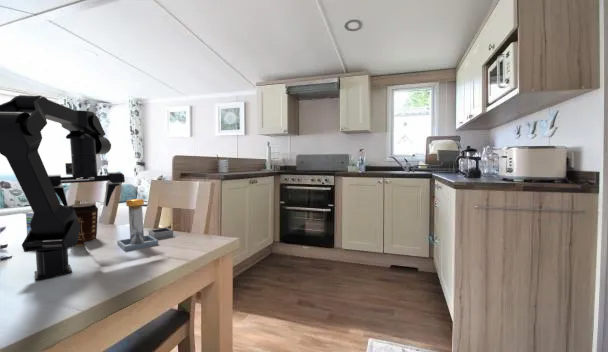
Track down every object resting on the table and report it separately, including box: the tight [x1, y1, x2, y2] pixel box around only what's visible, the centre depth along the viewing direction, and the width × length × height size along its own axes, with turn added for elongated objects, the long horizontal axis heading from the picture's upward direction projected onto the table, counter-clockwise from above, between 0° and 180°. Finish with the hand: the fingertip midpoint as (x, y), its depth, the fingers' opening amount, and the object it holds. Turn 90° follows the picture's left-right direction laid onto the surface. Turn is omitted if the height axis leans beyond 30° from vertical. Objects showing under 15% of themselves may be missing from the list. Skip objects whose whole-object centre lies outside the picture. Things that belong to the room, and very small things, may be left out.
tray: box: [116, 234, 159, 252], centre depth 87 cm, size 9×9×2 cm
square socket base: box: [148, 227, 181, 241], centre depth 98 cm, size 9×8×3 cm
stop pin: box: [125, 198, 145, 245], centre depth 87 cm, size 5×5×14 cm
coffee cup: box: [69, 202, 99, 247], centre depth 93 cm, size 9×8×13 cm
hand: (87, 208), depth 83 cm, fingers open, 9 cm apart
